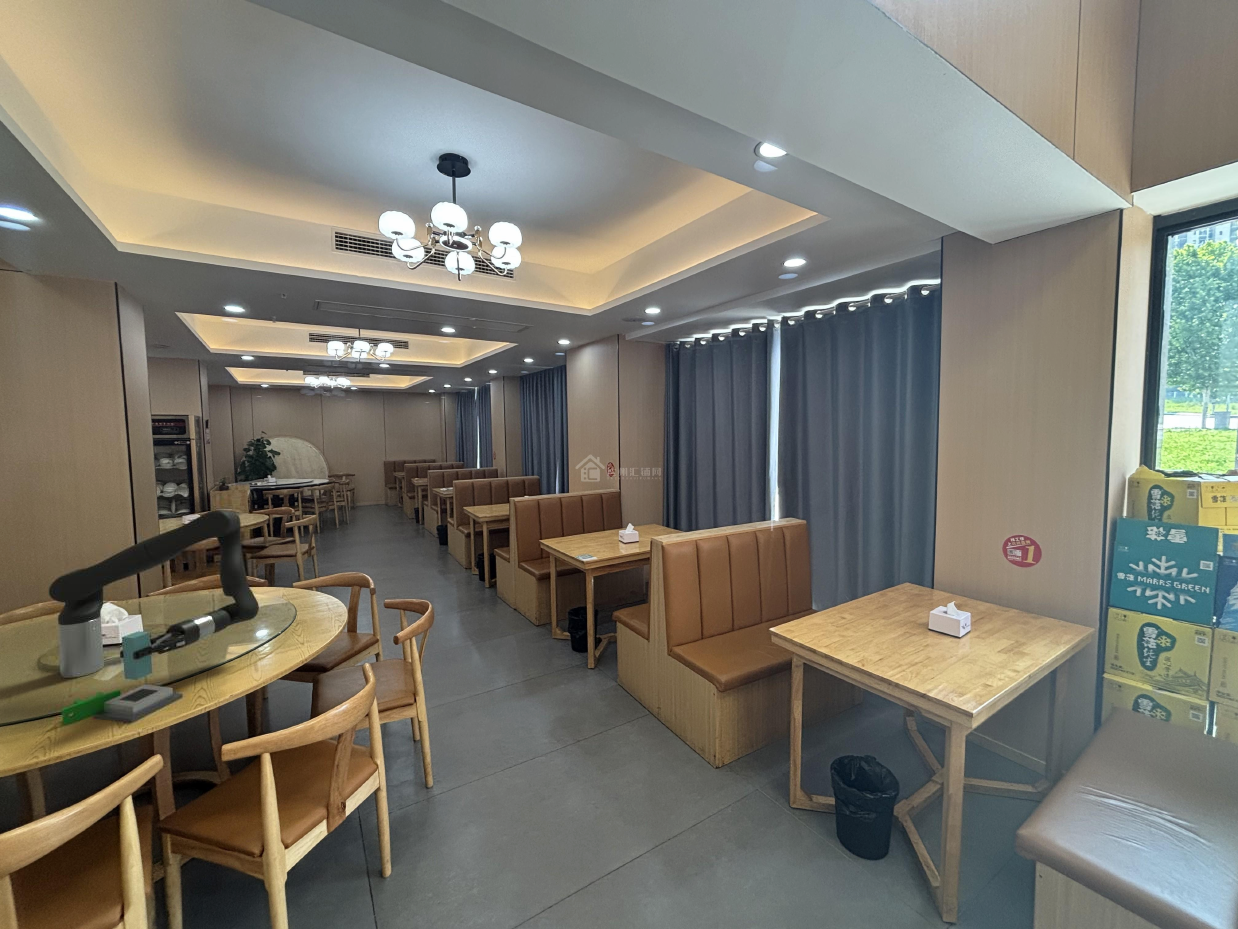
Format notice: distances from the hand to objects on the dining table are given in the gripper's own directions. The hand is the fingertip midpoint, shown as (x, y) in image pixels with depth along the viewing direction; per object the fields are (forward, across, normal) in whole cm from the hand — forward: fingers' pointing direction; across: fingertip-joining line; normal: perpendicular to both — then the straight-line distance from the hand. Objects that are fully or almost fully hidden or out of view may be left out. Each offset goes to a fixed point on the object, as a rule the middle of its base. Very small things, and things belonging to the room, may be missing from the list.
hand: (127, 655), depth 136 cm
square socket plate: (-2, 0, +16) cm, 16 cm away
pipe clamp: (+3, -10, +16) cm, 19 cm away
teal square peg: (-2, 0, +7) cm, 7 cm away
